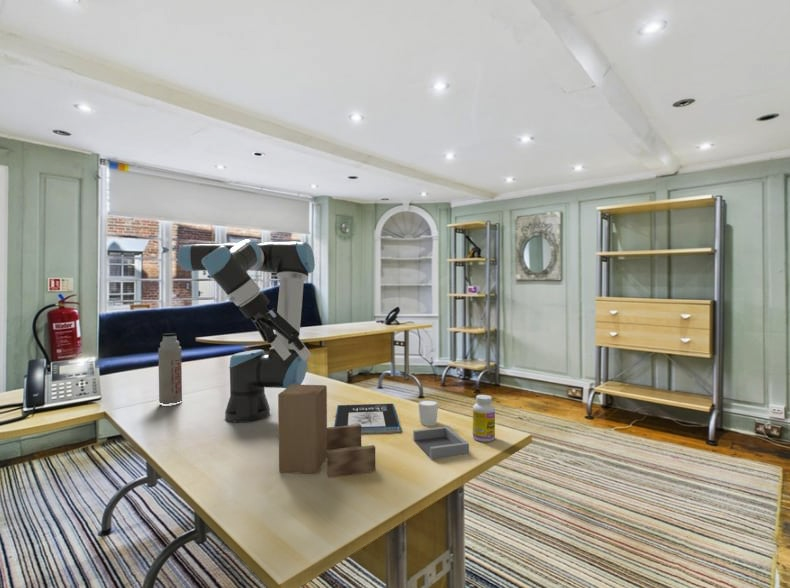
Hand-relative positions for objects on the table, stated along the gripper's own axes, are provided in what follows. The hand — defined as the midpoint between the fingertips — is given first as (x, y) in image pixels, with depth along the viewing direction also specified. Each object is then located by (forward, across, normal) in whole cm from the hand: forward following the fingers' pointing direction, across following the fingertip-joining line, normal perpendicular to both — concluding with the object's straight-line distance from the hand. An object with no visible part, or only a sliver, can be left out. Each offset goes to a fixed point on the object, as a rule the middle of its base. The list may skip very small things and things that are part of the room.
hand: (297, 357), depth 117 cm
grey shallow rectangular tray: (+43, +21, +8) cm, 48 cm away
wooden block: (+20, +7, -19) cm, 29 cm away
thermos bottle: (+2, -76, -26) cm, 80 cm away
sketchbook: (+39, -13, +9) cm, 42 cm away
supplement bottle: (+52, +25, +21) cm, 62 cm away
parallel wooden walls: (+27, +11, -11) cm, 31 cm away
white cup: (+48, +4, +19) cm, 52 cm away
